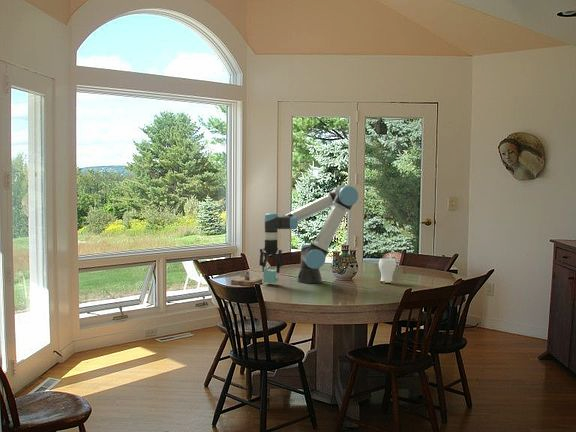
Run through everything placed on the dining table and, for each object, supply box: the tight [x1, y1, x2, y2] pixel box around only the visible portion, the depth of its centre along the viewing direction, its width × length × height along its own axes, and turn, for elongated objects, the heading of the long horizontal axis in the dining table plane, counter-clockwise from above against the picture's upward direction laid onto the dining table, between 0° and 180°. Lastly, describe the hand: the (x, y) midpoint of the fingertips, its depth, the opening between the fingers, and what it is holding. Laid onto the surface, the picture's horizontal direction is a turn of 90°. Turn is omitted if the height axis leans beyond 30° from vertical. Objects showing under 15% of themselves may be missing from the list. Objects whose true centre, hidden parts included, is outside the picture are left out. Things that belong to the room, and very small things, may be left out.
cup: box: [378, 257, 397, 282], centre depth 391 cm, size 11×11×15 cm
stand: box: [230, 270, 263, 287], centre depth 371 cm, size 14×14×8 cm
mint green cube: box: [263, 268, 279, 284], centre depth 370 cm, size 7×7×7 cm
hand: (270, 277), depth 370 cm, fingers closed on mint green cube, 7 cm apart
